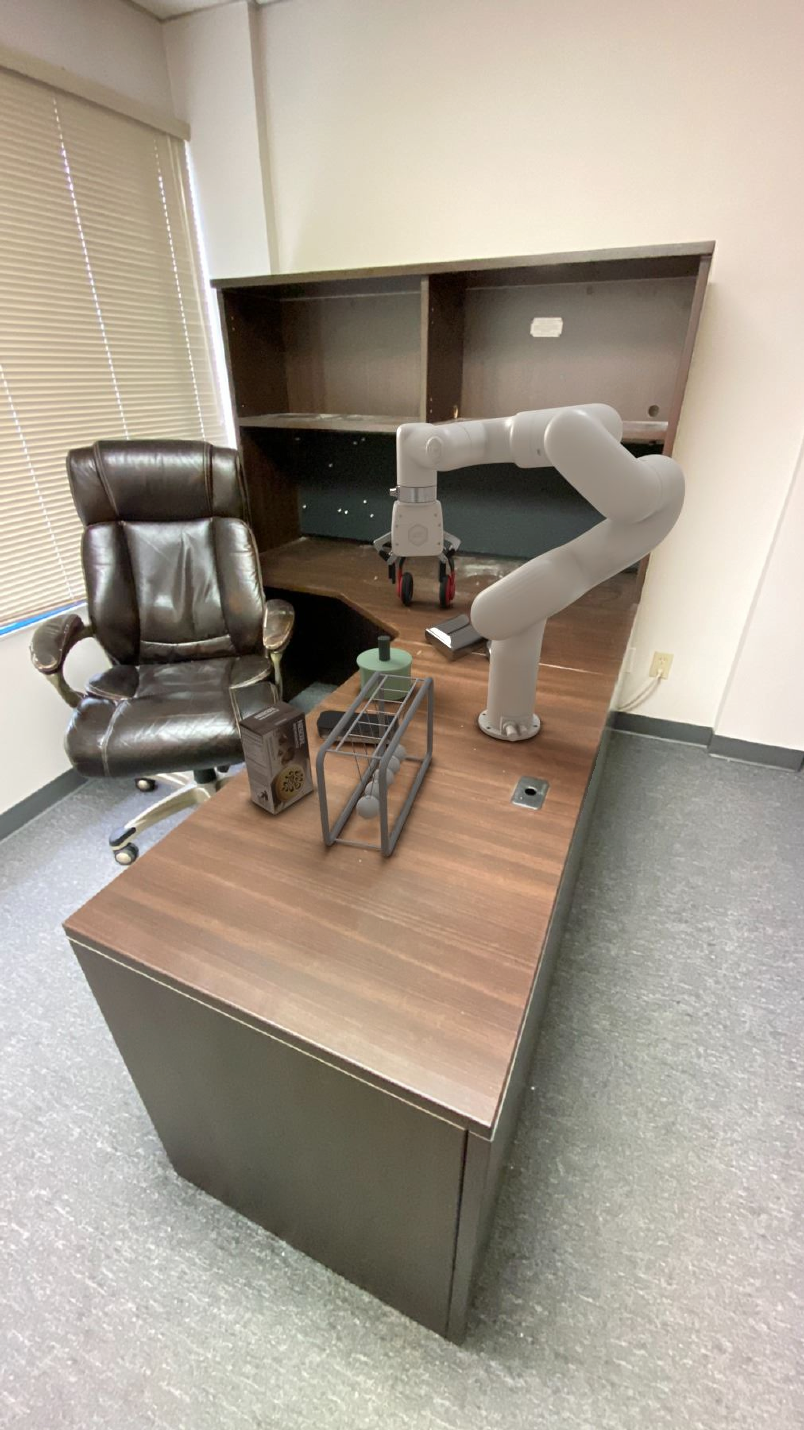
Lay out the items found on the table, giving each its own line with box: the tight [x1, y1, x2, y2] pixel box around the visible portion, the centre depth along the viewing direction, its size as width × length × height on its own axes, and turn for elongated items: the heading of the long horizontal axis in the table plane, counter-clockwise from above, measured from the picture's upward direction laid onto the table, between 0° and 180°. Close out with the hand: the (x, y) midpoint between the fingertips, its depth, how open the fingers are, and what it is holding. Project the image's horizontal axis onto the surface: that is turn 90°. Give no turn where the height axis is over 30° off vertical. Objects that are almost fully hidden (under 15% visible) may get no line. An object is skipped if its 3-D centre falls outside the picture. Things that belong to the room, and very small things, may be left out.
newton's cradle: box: [315, 671, 435, 857], centre depth 100 cm, size 30×10×18 cm, turn 164°
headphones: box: [396, 544, 456, 608], centre depth 184 cm, size 18×10×20 cm, turn 78°
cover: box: [356, 635, 413, 673], centre depth 135 cm, size 12×12×6 cm
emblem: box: [424, 613, 492, 662], centre depth 162 cm, size 28×5×28 cm
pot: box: [359, 664, 412, 702], centre depth 138 cm, size 11×11×8 cm
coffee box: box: [237, 700, 314, 815], centre depth 102 cm, size 9×6×16 cm
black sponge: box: [316, 709, 400, 745], centre depth 122 cm, size 16×8×4 cm, turn 81°
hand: (417, 581), depth 125 cm, fingers open, 9 cm apart
